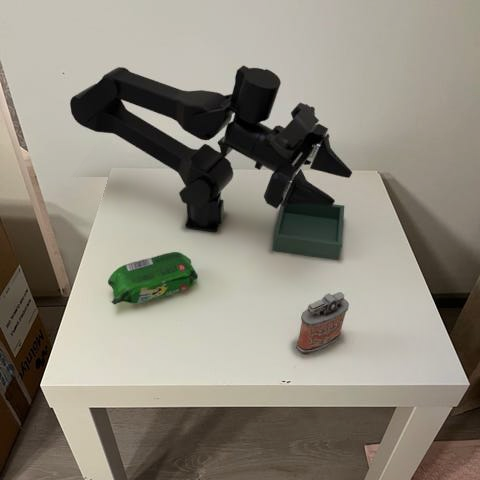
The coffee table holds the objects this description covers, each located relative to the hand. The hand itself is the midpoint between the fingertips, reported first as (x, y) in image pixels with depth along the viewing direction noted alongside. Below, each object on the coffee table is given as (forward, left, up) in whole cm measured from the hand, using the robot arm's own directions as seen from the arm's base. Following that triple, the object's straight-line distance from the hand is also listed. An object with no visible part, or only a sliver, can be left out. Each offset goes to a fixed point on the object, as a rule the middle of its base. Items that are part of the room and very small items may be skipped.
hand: (342, 188), depth 79 cm
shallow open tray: (-4, +7, -16) cm, 18 cm away
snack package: (-29, -14, -16) cm, 36 cm away
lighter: (0, -20, -16) cm, 25 cm away
